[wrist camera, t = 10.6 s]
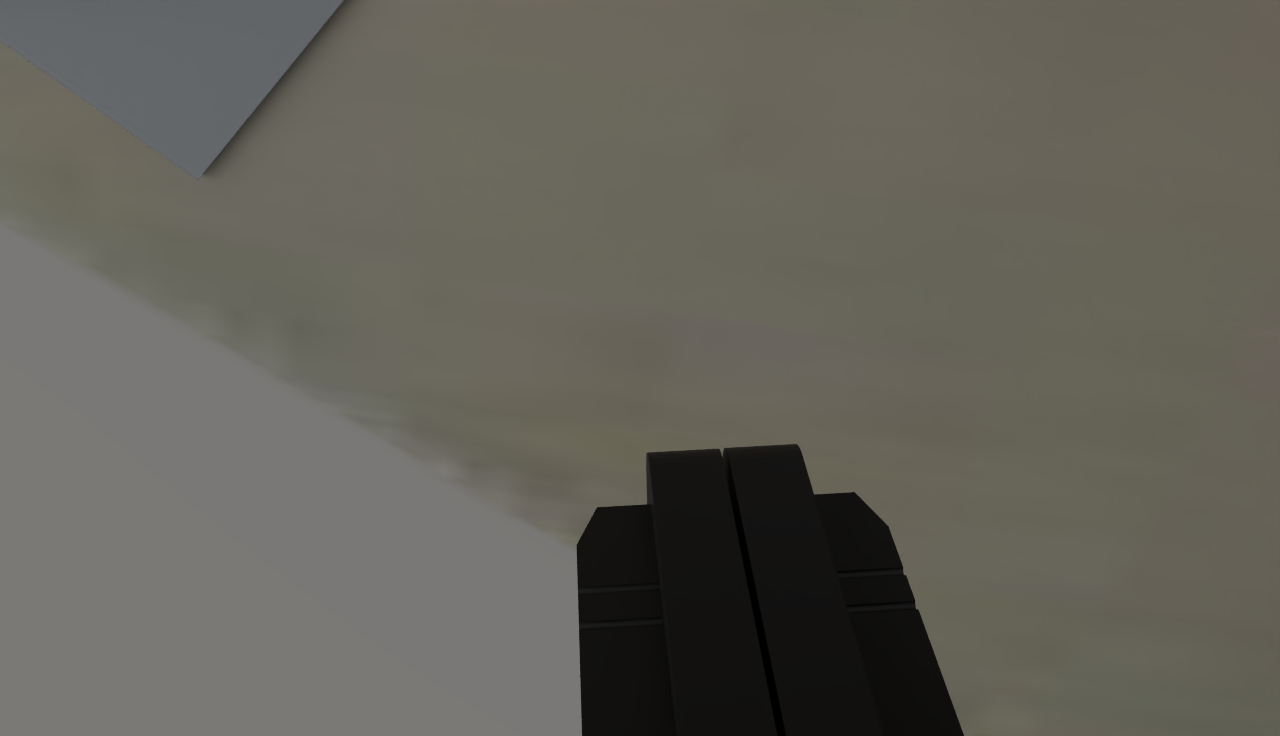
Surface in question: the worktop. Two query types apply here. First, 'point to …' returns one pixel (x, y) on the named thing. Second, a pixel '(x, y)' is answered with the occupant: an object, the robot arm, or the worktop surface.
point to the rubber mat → (167, 61)
